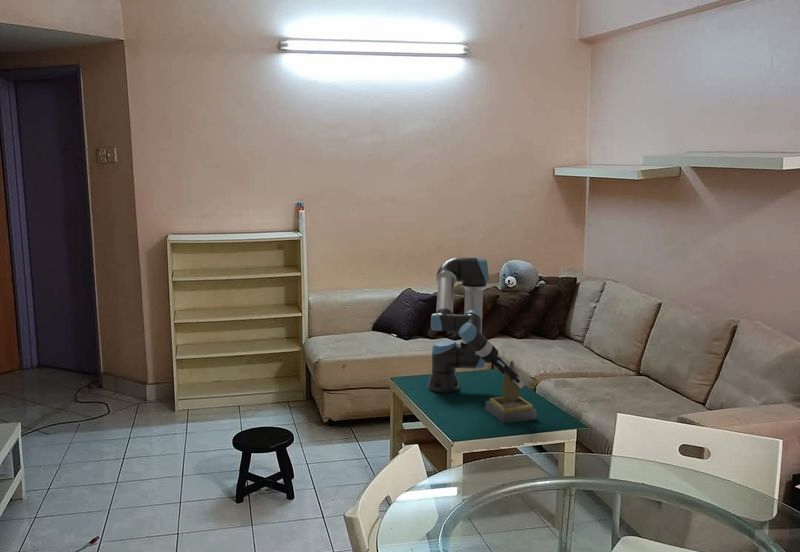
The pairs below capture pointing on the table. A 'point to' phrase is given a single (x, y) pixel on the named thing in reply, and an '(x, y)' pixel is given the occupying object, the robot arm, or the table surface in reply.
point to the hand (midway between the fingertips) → (518, 383)
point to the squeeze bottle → (510, 386)
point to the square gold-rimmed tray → (510, 410)
